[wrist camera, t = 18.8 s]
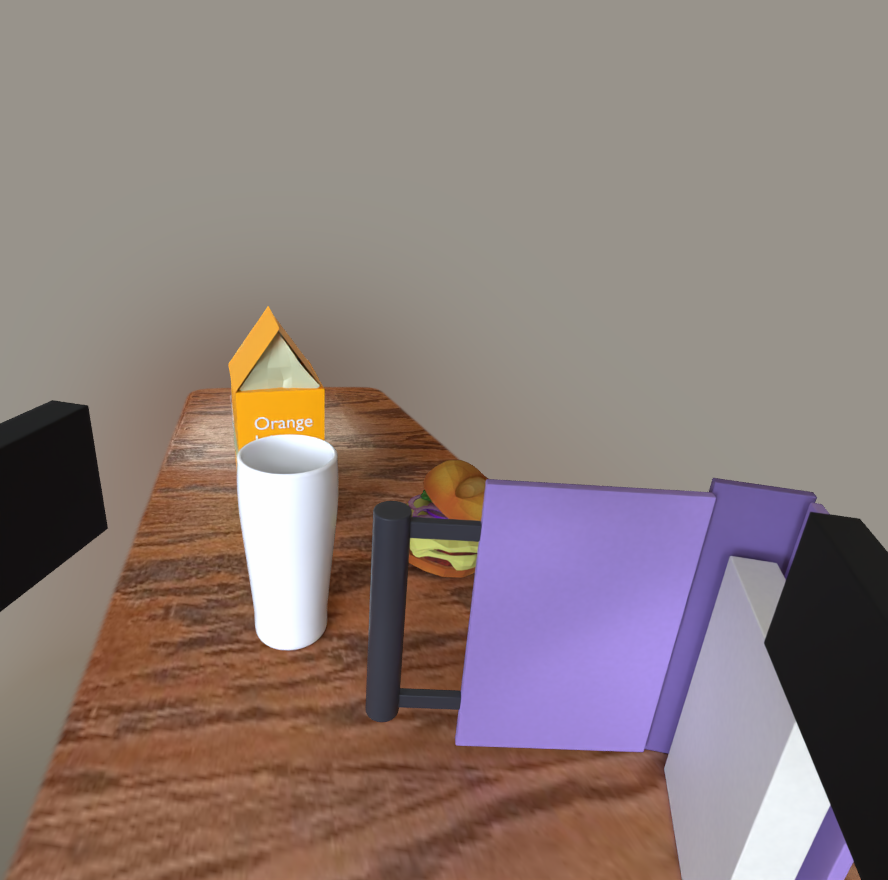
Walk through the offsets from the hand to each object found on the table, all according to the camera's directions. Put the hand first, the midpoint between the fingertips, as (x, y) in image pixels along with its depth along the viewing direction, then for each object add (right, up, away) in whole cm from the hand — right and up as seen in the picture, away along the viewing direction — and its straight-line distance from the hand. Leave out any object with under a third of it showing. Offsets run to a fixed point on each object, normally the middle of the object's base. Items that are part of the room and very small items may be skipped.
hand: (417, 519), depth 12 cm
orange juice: (-16, -6, +53) cm, 55 cm away
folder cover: (+4, -18, +28) cm, 34 cm away
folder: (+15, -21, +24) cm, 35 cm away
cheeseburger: (+1, -9, +49) cm, 49 cm away
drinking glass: (-11, -13, +37) cm, 41 cm away
